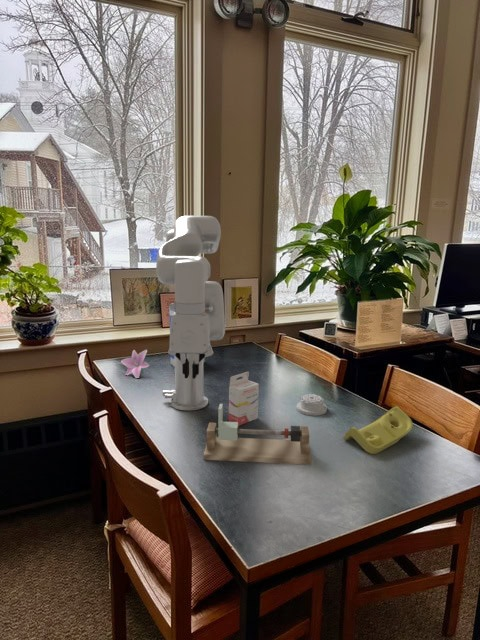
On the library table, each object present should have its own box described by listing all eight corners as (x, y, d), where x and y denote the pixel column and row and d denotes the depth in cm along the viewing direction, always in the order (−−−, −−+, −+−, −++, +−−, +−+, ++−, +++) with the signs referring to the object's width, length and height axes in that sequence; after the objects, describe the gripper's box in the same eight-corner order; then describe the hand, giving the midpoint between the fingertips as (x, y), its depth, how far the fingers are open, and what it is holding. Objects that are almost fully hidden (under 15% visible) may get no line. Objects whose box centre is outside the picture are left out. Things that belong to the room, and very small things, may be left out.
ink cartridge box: (239, 426, 142) (239, 380, 139) (228, 421, 145) (228, 376, 142) (258, 418, 148) (259, 374, 145) (247, 413, 151) (248, 370, 148)
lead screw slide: (203, 459, 123) (203, 433, 121) (208, 441, 133) (208, 416, 131) (311, 464, 121) (312, 438, 119) (308, 445, 131) (309, 420, 129)
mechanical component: (294, 414, 151) (326, 418, 149) (295, 402, 150) (326, 405, 148) (297, 403, 161) (327, 405, 159) (298, 390, 160) (327, 393, 158)
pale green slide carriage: (218, 439, 125) (218, 409, 123) (219, 433, 128) (219, 403, 126) (236, 440, 125) (237, 409, 123) (237, 434, 128) (238, 404, 126)
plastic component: (375, 450, 124) (349, 423, 130) (365, 467, 129) (340, 440, 134) (419, 426, 135) (393, 402, 141) (408, 442, 140) (383, 418, 146)
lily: (120, 373, 190) (113, 357, 184) (145, 358, 195) (139, 342, 189) (134, 390, 183) (128, 373, 176) (160, 374, 187) (154, 357, 181)
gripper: (156, 310, 116) (158, 380, 120) (218, 312, 115) (218, 383, 119) (163, 304, 123) (164, 371, 127) (222, 306, 122) (221, 373, 126)
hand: (190, 376), depth 123 cm, fingers closed
